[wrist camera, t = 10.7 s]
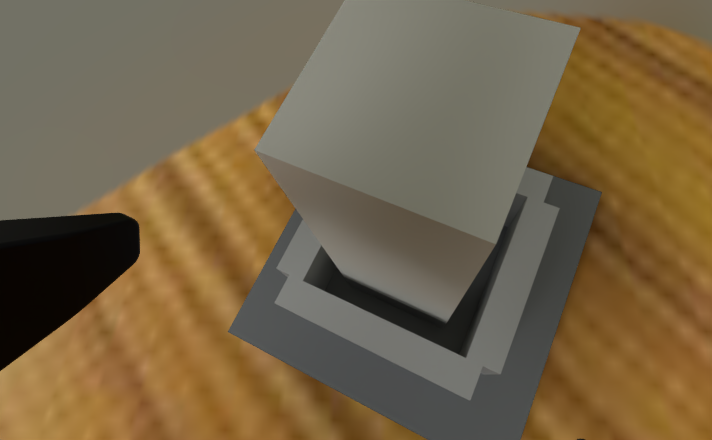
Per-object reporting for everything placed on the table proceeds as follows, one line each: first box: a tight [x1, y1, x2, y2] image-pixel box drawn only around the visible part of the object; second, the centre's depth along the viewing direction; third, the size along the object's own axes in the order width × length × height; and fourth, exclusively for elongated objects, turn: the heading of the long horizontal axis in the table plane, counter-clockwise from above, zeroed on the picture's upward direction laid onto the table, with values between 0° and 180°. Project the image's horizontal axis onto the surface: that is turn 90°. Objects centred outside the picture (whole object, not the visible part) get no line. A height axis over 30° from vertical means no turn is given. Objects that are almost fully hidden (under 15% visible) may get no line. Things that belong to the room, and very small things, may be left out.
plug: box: [255, 0, 580, 328], centre depth 13 cm, size 4×4×12 cm
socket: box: [228, 167, 602, 440], centre depth 18 cm, size 13×13×5 cm
